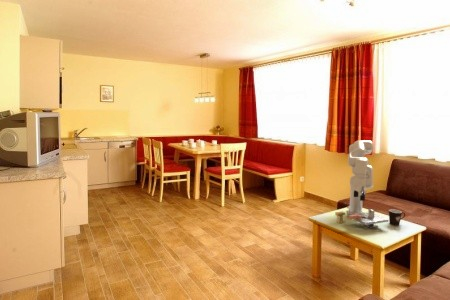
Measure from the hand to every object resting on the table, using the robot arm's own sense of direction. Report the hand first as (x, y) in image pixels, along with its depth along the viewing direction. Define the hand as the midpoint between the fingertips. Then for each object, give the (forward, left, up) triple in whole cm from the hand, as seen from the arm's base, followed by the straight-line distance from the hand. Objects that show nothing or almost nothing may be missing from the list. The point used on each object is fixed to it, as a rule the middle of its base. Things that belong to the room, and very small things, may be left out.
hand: (359, 198), depth 219 cm
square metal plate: (+3, +6, -21) cm, 22 cm away
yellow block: (-10, -8, -21) cm, 24 cm away
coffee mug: (+7, +30, -21) cm, 37 cm away
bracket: (+3, -7, -14) cm, 16 cm away
